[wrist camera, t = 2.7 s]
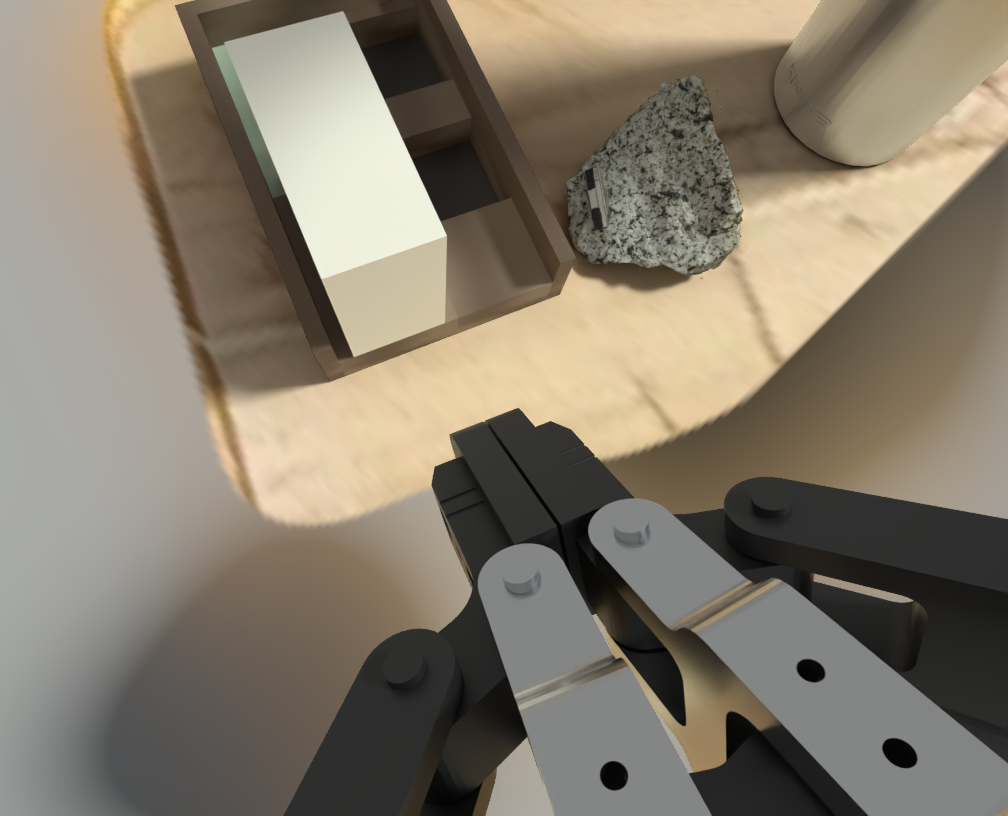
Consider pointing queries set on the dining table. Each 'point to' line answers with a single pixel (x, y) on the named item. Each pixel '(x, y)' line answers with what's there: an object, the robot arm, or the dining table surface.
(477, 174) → the box
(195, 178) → the dining table surface
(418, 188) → the brick
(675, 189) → the rock sample
